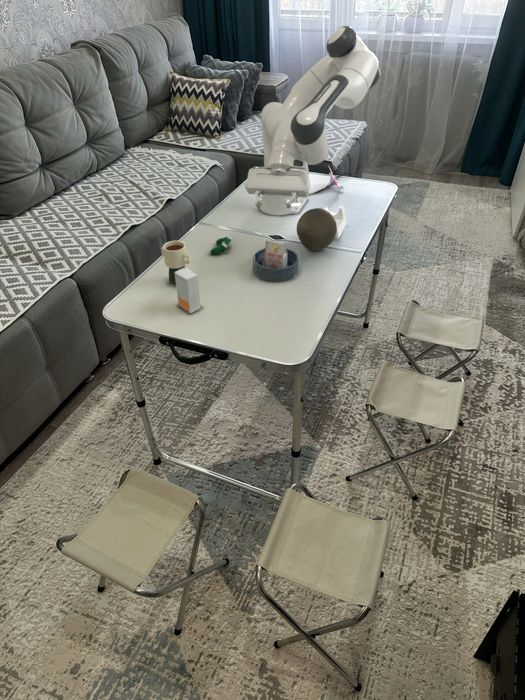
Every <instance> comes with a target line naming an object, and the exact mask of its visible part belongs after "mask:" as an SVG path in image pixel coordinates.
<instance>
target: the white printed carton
mask: <svg viewBox="0 0 525 700" xmlns="http://www.w3.org/2000/svg"><path fill="white" fill-rule="evenodd" d="M264 248H265V252H264V267H267V268H273V269H280V268H286V267H287V254H288V253H287V249H288V248H287V244H286V243H282V242H277V241H272V240H269V239H267V240H266V241H265V247H264ZM286 248H287V249H286Z"/></svg>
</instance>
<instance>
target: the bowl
mask: <svg viewBox="0 0 525 700" xmlns="http://www.w3.org/2000/svg"><path fill="white" fill-rule="evenodd" d="M286 249H287V253H288V254H287V267H286V268H280V269H273V268H267V267H264V252H265V247H264V248H262V249H259V250H257V251H256V252H255V253H254V255H253V257H252V270H253V273H254V274H255V276H256V277H258V278H260V279H261V280H265V281H269V282H283V281H287V280H290V279H292V278H294V277H296V275H298V272H299V266H300V265H299V264H300V263H299V261H300V258H299V254H297V253H296V252H295V250H292V249H291V248H287V247H286Z"/></svg>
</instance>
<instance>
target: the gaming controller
mask: <svg viewBox="0 0 525 700" xmlns="http://www.w3.org/2000/svg"><path fill="white" fill-rule="evenodd" d="M231 242H232V237H231V236H229V235H226V236H225V237H221V238H218V239H217V240H216V241H215V243H216V245H218V246H216V247H213V248H212V249H211V250H210V254H211V255H217V254H221V253H225V252H226V251H227V249H228V247H229V245H230V244H231Z"/></svg>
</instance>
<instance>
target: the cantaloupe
mask: <svg viewBox="0 0 525 700" xmlns="http://www.w3.org/2000/svg"><path fill="white" fill-rule="evenodd" d="M324 209H325V208H321V207H315V208H311V209H308V210H306V211H304V212H303V214H302V215H301V216H300V217H299V219H298V221H297V223H296V234H297V237H298V239H299V242H300V244H301V245H302V246H303V247H304V248H305V249H306V250H309V251H313V252H314V251H315V252H317V251H320V250H324V249H326V248H327V247H329V246H330V245H331V244H332V243H333V242H334V240H335V239H334V238H335V235H336V232H337V225H336V221H335V219H334V217H333V216H332V214H331V213H330V212H331V211H330V212H328V211H326V210H324Z"/></svg>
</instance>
